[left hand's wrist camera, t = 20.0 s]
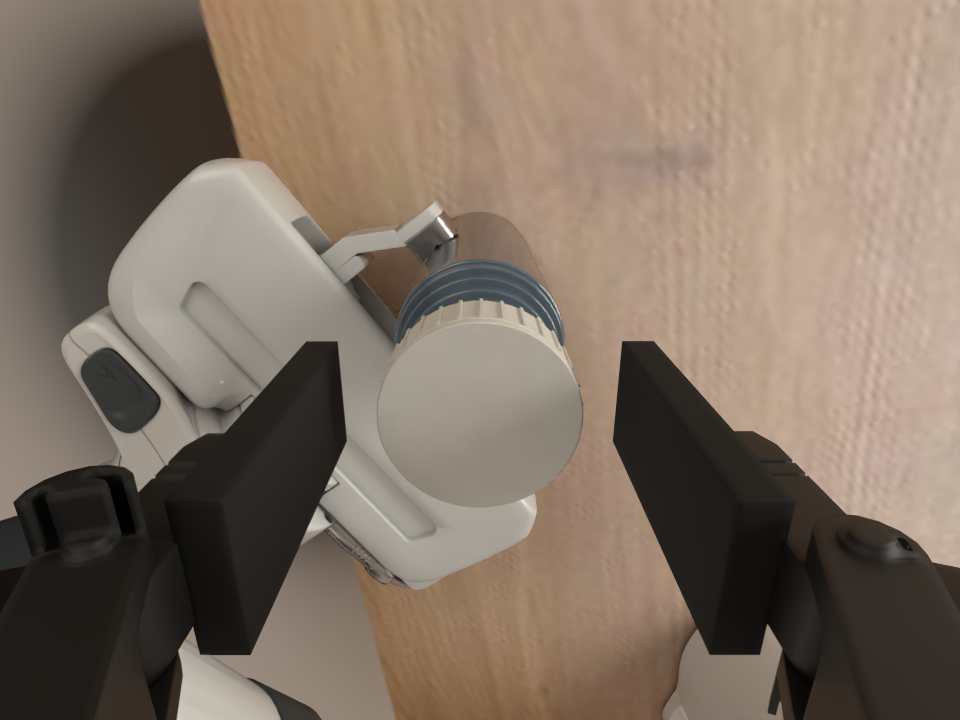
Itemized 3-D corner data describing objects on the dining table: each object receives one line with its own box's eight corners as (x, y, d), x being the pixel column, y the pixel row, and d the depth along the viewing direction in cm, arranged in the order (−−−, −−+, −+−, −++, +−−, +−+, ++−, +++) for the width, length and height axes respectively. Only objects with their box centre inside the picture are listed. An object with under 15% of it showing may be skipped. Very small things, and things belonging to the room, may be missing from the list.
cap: (417, 270, 13) (407, 289, 11) (602, 333, 14) (620, 359, 12) (365, 438, 15) (350, 477, 13) (533, 488, 15) (540, 532, 14)
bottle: (485, 331, 31) (492, 540, 14) (408, 270, 29) (321, 422, 13) (551, 257, 29) (640, 396, 13) (472, 189, 28) (463, 249, 12)
